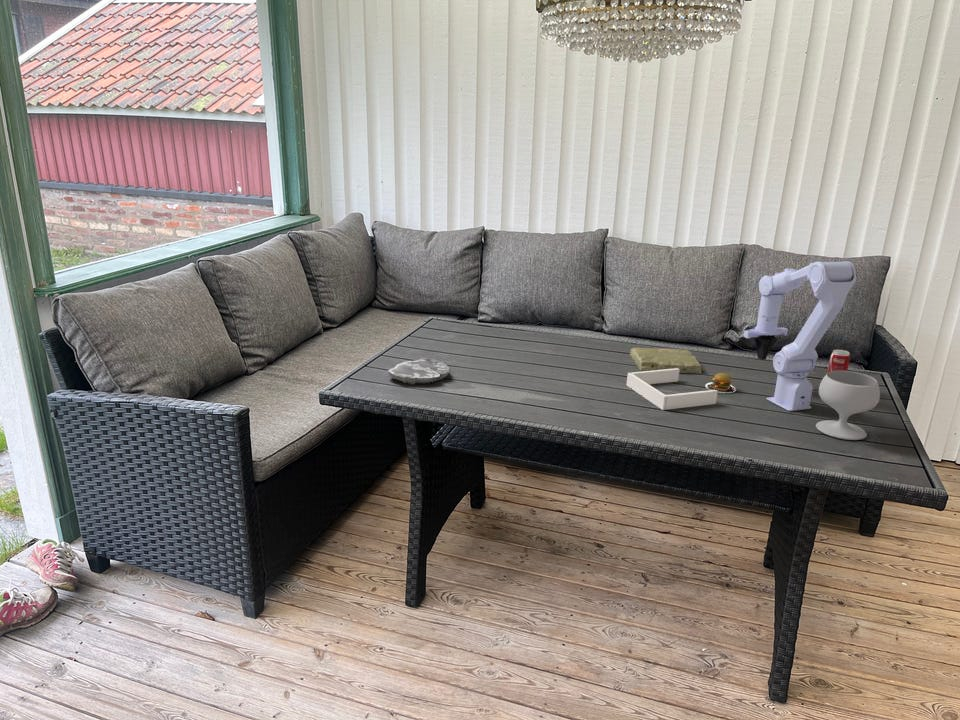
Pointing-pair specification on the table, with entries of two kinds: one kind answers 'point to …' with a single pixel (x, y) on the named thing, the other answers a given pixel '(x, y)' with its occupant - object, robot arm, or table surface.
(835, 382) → the chalice
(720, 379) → the hamburger
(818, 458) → the table surface
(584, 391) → the table surface
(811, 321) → the robot arm
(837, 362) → the soda can
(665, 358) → the decorative tile
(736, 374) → the table surface
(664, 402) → the box
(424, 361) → the brain slice
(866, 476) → the table surface
